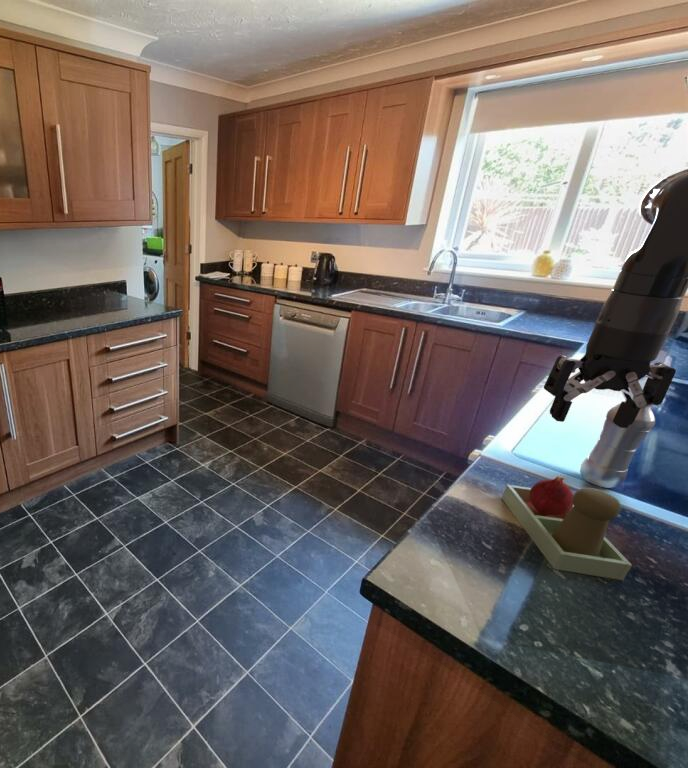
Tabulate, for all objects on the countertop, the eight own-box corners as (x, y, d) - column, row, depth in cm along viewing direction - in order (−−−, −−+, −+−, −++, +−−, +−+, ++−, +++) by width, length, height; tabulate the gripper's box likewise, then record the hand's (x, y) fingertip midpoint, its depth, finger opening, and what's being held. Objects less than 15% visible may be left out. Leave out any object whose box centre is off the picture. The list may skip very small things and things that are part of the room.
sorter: (555, 505, 78) (562, 492, 77) (623, 580, 63) (632, 565, 62) (501, 497, 80) (506, 484, 79) (553, 569, 65) (561, 553, 63)
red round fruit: (567, 530, 71) (586, 492, 68) (524, 517, 74) (541, 480, 71) (561, 511, 76) (579, 474, 72) (521, 499, 79) (537, 463, 75)
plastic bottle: (568, 475, 87) (610, 387, 79) (590, 470, 89) (633, 383, 81) (605, 495, 81) (654, 402, 73) (627, 488, 83) (678, 397, 75)
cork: (607, 562, 65) (640, 505, 61) (575, 566, 64) (605, 509, 60) (568, 534, 71) (596, 480, 66) (537, 538, 70) (563, 483, 65)
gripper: (591, 327, 59) (549, 428, 66) (717, 335, 56) (660, 439, 63) (560, 314, 66) (525, 407, 72) (670, 320, 63) (623, 416, 69)
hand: (587, 422), depth 68 cm, fingers open, 8 cm apart
